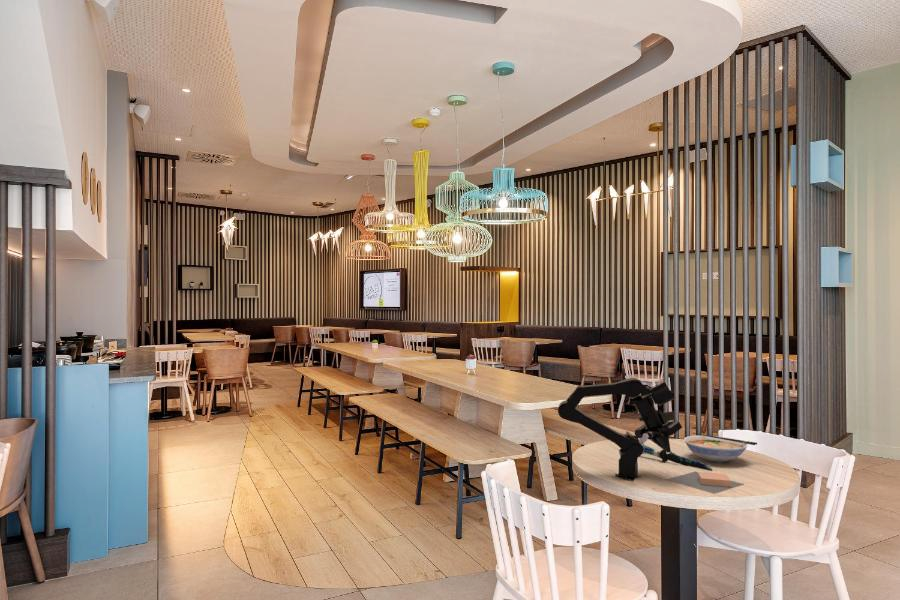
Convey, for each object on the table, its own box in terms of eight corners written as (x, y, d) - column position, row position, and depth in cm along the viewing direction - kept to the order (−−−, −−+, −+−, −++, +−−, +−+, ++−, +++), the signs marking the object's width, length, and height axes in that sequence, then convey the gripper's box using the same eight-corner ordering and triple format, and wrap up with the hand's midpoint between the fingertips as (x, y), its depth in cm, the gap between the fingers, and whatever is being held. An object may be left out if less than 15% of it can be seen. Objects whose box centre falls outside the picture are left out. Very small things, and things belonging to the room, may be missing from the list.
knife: (634, 452, 229) (635, 442, 229) (639, 451, 231) (640, 440, 231) (708, 478, 205) (709, 466, 205) (712, 477, 207) (713, 465, 207)
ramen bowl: (669, 458, 226) (669, 437, 227) (699, 449, 240) (699, 430, 241) (732, 472, 207) (732, 449, 207) (761, 462, 221) (761, 441, 221)
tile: (701, 478, 189) (730, 480, 187) (697, 471, 197) (725, 474, 195) (701, 485, 189) (730, 487, 187) (697, 478, 197) (725, 480, 195)
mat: (714, 495, 181) (714, 493, 181) (665, 480, 195) (665, 479, 195) (744, 485, 191) (744, 484, 191) (695, 472, 206) (695, 471, 206)
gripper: (681, 398, 194) (703, 439, 192) (646, 403, 211) (666, 442, 209) (659, 413, 189) (682, 455, 187) (625, 417, 206) (645, 456, 204)
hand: (669, 452), depth 197 cm, fingers closed
